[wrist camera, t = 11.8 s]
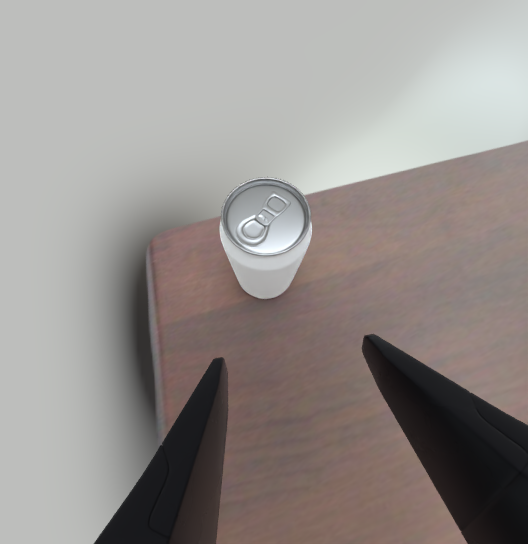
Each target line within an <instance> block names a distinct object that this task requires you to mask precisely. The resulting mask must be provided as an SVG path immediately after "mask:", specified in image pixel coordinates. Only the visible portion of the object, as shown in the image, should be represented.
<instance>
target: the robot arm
mask: <svg viewBox="0 0 528 544" xmlns="http://www.w3.org/2000/svg"><path fill="white" fill-rule="evenodd" d="M362 352H363V355H364V357H365V359H366V362H367V364H368V366H369V368H370V371H371V373H372V375H373V377H374V379H375V382H376V384H377V386H378V388H379V390H380V392H381V393H382V395H383V397H384V399H385V400H386V402H387V404H388V406H389V407H390V409H391V411H392V413H393V414H394V416H395V418H396V420H397V421H398V423H399V425H400V426H401V428H402V430H403V432H404V433H405V435H406V437H407V439H408V440H409V442H410V444H411V446H412V447H413V449H414V451H415V453H416V454H417V456H418V458H419V460H420V461H421V463H422V465H423V466H424V468H425V470H426V472H427V473H428V475H429V477H430V479H431V480H432V482H433V484H434V486H435V487H436V489H437V491H438V493H439V494H440V496H441V498H442V499H443V501H444V503H445V505H446V506H447V508H448V510H449V512H450V513H451V515H452V517H453V519H454V520H455V522H456V524H457V526H458V527H459V529H460V530H461V531H462V532H461V533H462V535H463V536H464V538H465V540H466V542H467V543H468V544H528V425H526V424H525V423H523V422H521V421H519V420H517V419H515V418H514V417H512V416H510V415H508V414H506V413H505V412H503V411H501V410H500V409H498V408H496V407H494V406H493V405H491V404H489V403H488V402H486V401H484V400H483V399H481V398H479V397H478V396H476V395H474V394H473V393H470V392H469V391H467V390H466V389H464V388H463V387H461V386H459V385H458V384H456V383H454V382H453V381H451V380H449V379H448V378H446V377H444V376H443V375H441V374H439V373H438V372H436V371H434V370H433V369H431V368H429V367H428V366H426V365H425V364H423V363H421V362H420V361H418V360H416V359H415V358H413V357H411V356H410V355H408V354H406V353H405V352H403V351H401V350H400V349H398V348H396V347H395V346H393V345H391V344H390V343H388V342H386V341H385V340H383V339H382V338H380V337H378V336H377V335H374V334H370V335H365V336H364V338H363V345H362ZM227 421H228V372H227V367H226V364H225V360H224V358H223V357H221V358H215V359H213V361H212V362H211V364H210V366H209V367H208V369H207V371H206V372H205V374H204V375H203V377H202V379H201V380H200V382H199V384H198V385H197V387H196V389H195V390H194V392H193V394H192V395H191V397H190V398H189V400H188V402H187V403H186V405H185V407H184V408H183V410H182V412H181V413H180V415H179V416H178V418H177V420H176V421H175V423H174V425H173V426H172V428H171V430H170V431H169V433H168V434H167V436H166V438H165V439H164V441H163V443H162V445H163V446H162V445H161V446H160V447H159V449H158V451H157V452H156V454H155V456H154V457H153V459H152V460H151V462H150V464H149V465H148V467H147V468H146V470H145V471H144V473H143V475H142V476H141V478H140V479H139V480H138V482H137V483H136V485H135V486H134V488H133V489H132V491H131V492H130V494H129V495H128V497H127V498H126V499H125V501H124V502H123V503H122V505H121V506H120V508H119V509H118V510H117V512H116V513H115V515H114V516H113V518H112V519H111V520H110V522H109V523H108V525H107V526H106V527H105V529H104V530H103V531H102V533H101V534H100V536H99V537H98V538H97V540H96V541H95V543H94V544H216V537H217V526H218V516H219V505H220V495H221V484H222V473H223V463H224V452H225V442H226V431H227Z"/></svg>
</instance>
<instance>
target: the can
mask: <svg viewBox="0 0 528 544" xmlns="http://www.w3.org/2000/svg"><path fill="white" fill-rule="evenodd" d="M311 235H312V224H311V211H310V207H309V204H308V202H307V200H306V198H305V196H304V195H303V194H302V193H301V192H300V191H299V190H298V189H297V188H296V187H295V186H293V185H292V184H290V183H288V182H286V181H284V180H281V179H277V178H269V177H264V178H255V179H251V180H248V181H246V182H244V183H242V184H240V185H239V186H237V187H236V188H235V189H233V191H231V192H230V194H229V195H228V196H227V198H226V199H225V201H224V204H223V206H222V211H221V221H220V237H221V241H222V244H223V247H224V250H225V252H226V254H227V257H228V259H229V261H230V264H231V266H232V268H233V270H234V273H235V275H236V277H237V279H238V281H239V283H240V285H241V287H242V288H243V289H244V290H245V291H246V292H247V293H248V294H250V295H252V296H254V297H257V298H261V299H270V298H274V297H277V296H279V295H280V294H282V293H283V292H284V291H285V290H286V289H287V288H288V287H289V285H290V284H291V282H292V280H293V278H294V276H295V274H296V272H297V270H298V268H299V266H300V263H301V261H302V259H303V257H304V255H305V253H306V250H307V248H308V246H309V243H310V240H311Z"/></svg>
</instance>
